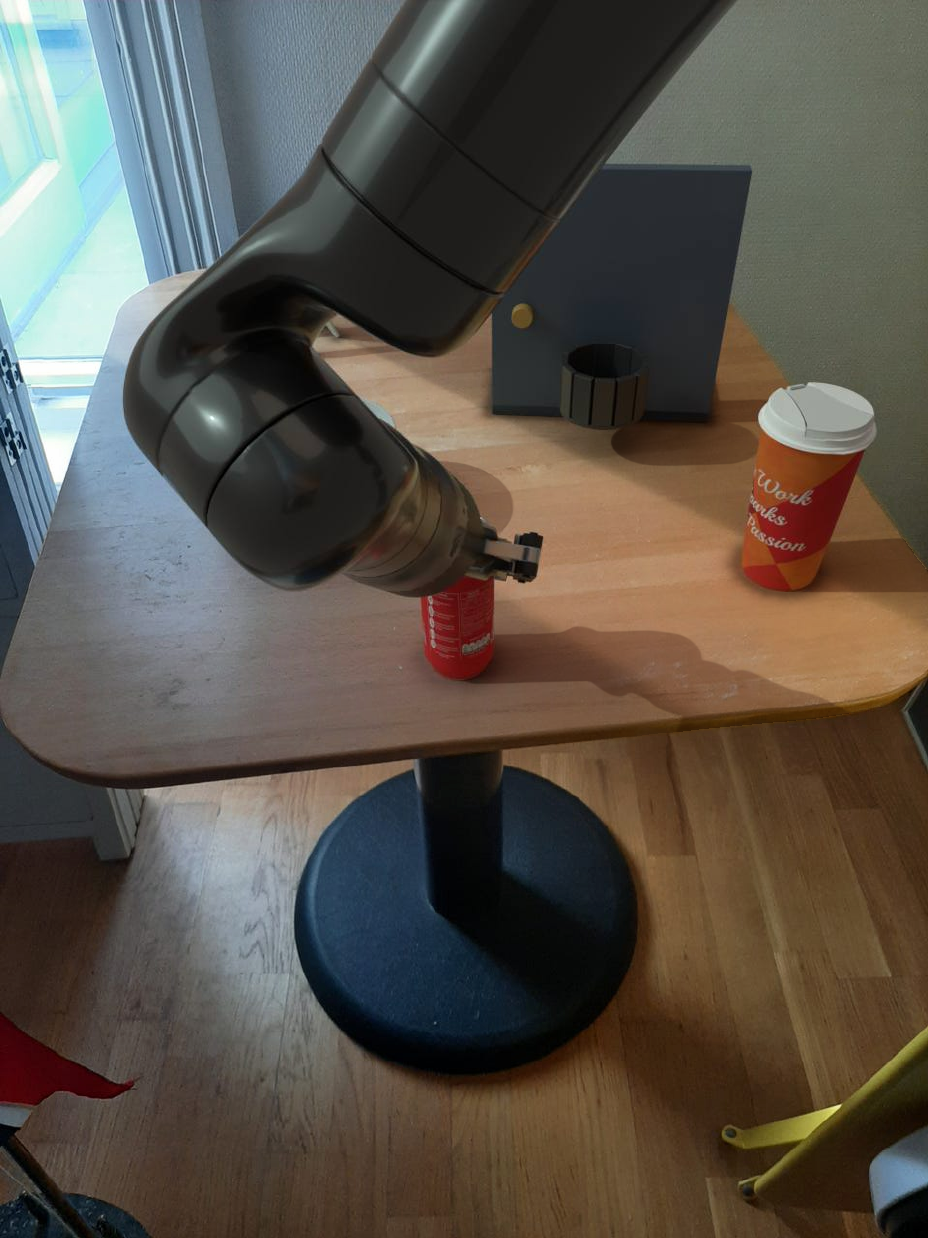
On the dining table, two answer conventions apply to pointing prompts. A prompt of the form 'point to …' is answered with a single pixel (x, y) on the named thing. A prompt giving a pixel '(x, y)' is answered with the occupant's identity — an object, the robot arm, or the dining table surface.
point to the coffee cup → (802, 480)
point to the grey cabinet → (625, 300)
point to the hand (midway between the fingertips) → (463, 559)
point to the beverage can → (460, 628)
